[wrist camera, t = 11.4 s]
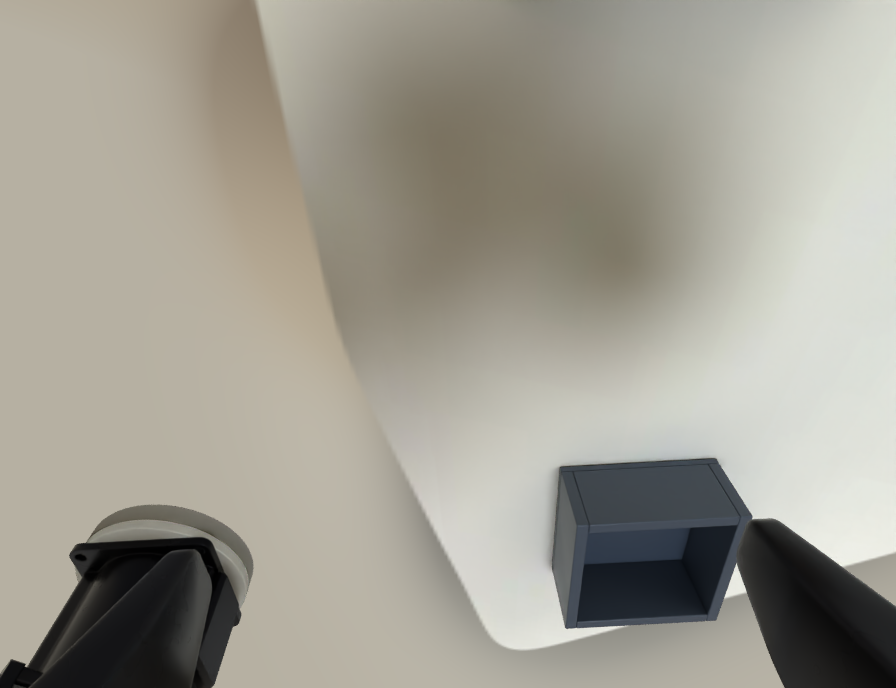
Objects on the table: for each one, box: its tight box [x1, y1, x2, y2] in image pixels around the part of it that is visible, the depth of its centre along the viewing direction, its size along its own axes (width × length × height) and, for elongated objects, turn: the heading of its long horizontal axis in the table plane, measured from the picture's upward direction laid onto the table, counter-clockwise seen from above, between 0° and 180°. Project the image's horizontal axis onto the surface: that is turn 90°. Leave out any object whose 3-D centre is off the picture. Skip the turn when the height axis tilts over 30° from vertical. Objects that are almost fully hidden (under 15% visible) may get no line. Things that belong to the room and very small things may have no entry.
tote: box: [552, 459, 752, 629], centre depth 25 cm, size 7×7×3 cm
